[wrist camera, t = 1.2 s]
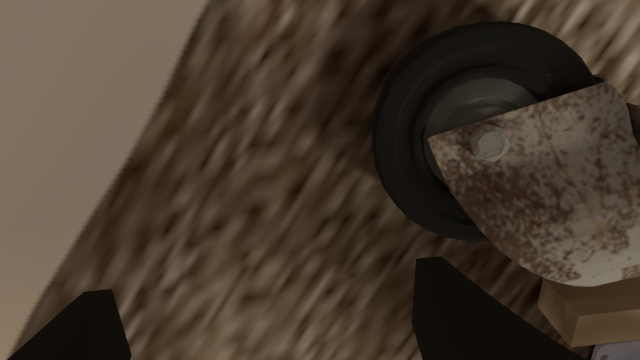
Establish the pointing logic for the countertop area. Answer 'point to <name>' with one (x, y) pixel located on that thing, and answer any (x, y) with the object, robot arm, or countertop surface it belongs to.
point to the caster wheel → (514, 151)
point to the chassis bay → (592, 311)
